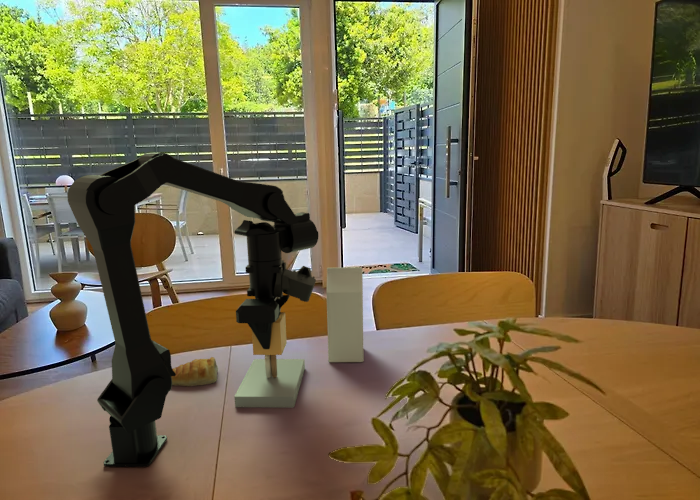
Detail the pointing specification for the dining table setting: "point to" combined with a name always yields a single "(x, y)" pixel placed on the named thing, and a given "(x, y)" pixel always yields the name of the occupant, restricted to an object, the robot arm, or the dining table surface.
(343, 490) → the dining table surface
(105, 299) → the robot arm
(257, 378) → the pale green flat slab
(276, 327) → the small yellow upright block
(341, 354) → the milk carton
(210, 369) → the pastry
